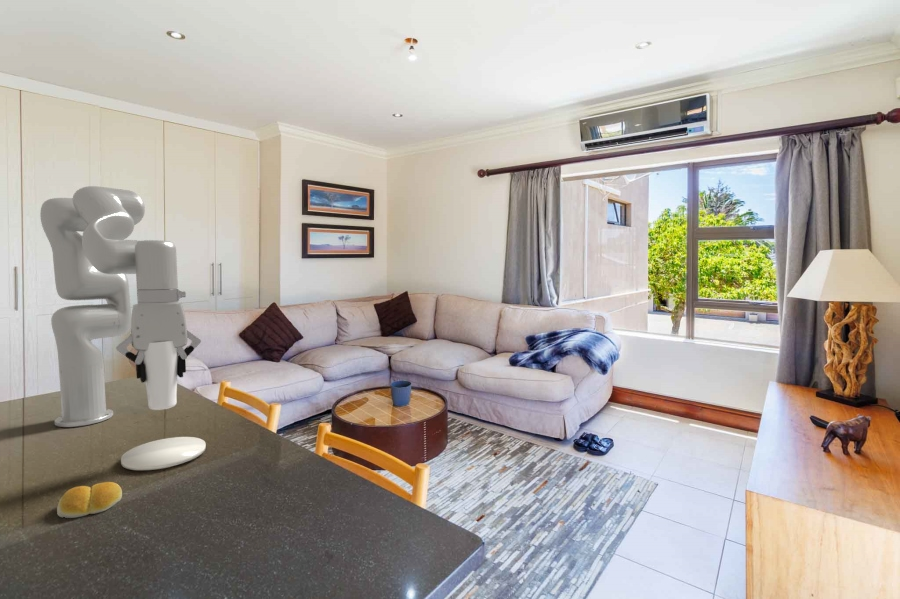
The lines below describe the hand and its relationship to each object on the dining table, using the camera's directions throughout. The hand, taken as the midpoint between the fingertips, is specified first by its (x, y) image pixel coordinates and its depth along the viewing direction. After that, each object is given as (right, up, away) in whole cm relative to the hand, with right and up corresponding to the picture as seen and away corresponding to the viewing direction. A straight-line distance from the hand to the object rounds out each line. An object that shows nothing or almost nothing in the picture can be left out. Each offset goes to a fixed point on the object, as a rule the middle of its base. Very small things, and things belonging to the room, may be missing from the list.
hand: (161, 377), depth 100 cm
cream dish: (0, -18, +1) cm, 18 cm away
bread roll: (-1, -20, -19) cm, 28 cm away
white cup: (0, -7, +1) cm, 7 cm away
